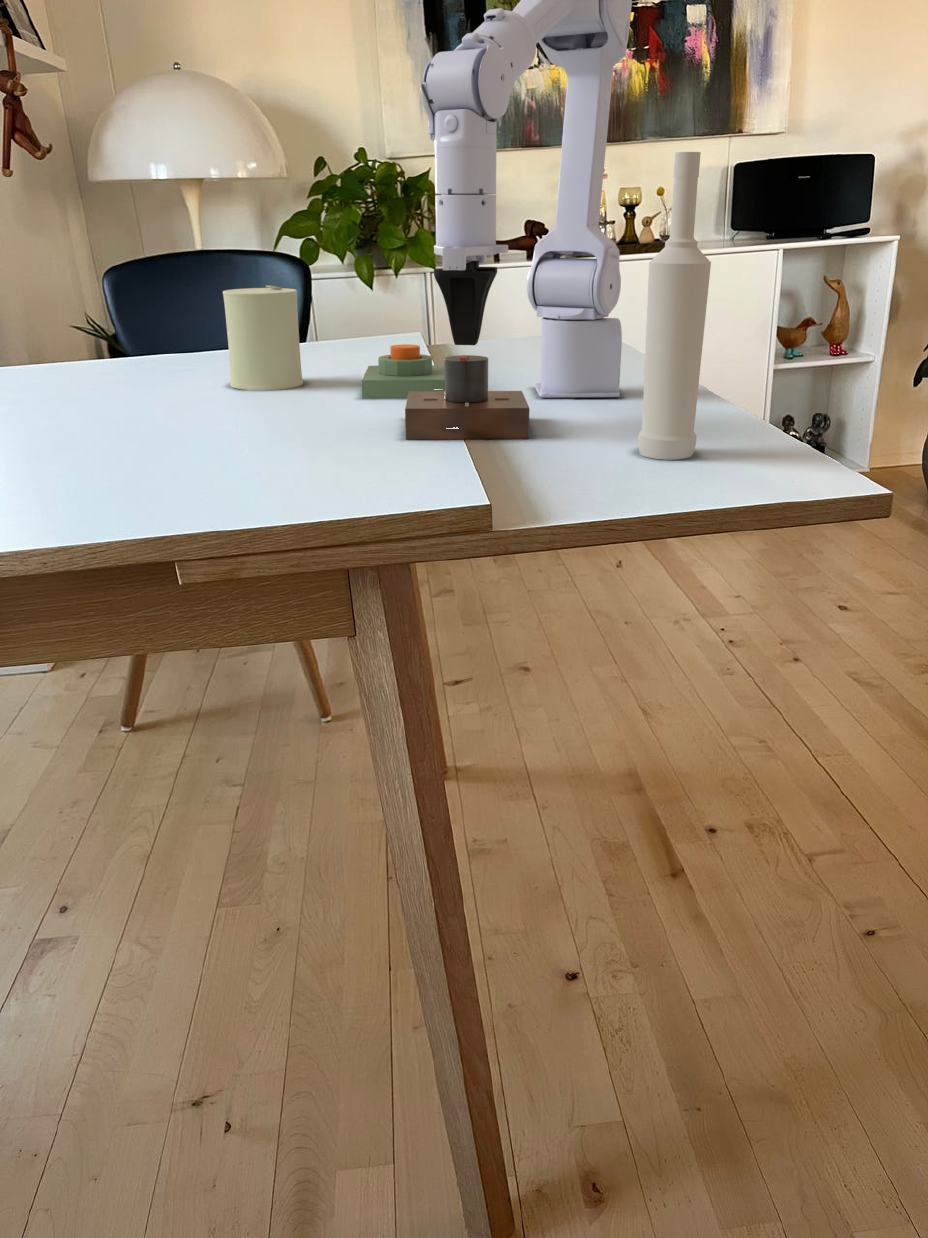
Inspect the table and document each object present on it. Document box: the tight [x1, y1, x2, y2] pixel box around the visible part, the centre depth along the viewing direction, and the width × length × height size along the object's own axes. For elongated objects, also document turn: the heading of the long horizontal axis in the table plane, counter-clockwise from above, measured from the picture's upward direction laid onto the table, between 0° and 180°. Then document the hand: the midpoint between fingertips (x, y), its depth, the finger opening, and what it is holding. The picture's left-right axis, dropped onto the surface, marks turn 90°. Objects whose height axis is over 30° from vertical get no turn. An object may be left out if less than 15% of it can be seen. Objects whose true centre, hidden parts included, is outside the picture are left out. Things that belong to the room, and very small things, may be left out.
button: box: [389, 343, 421, 360], centre depth 123 cm, size 4×4×2 cm
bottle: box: [637, 151, 712, 461], centre depth 87 cm, size 5×5×25 cm
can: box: [222, 285, 304, 391], centre depth 127 cm, size 9×9×12 cm
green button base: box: [360, 353, 444, 400], centre depth 124 cm, size 10×12×4 cm
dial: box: [443, 354, 489, 403], centre depth 101 cm, size 4×4×4 cm
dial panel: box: [404, 390, 530, 440], centre depth 102 cm, size 12×10×3 cm
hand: (466, 344), depth 100 cm, fingers closed
